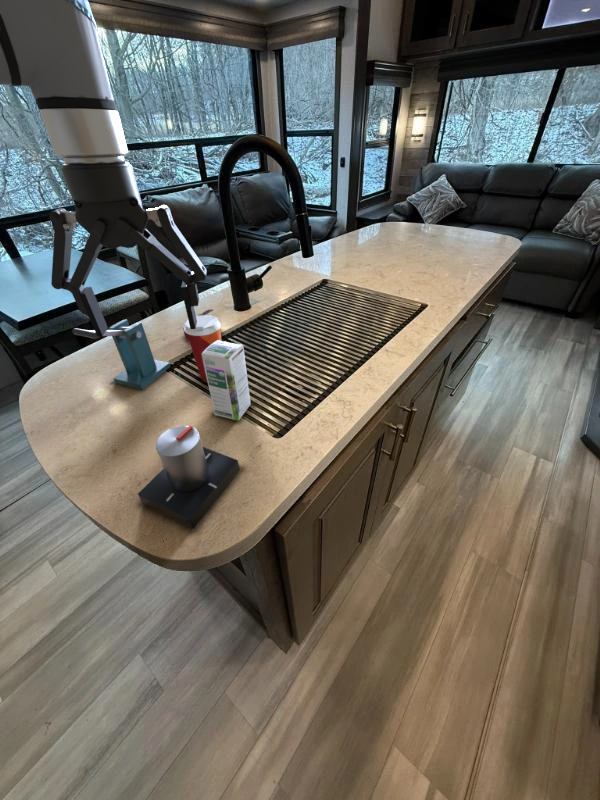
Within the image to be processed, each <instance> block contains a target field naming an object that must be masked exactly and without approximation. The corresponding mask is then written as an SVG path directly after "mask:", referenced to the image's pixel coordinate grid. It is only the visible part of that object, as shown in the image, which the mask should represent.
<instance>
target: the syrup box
mask: <svg viewBox="0 0 600 800" xmlns="http://www.w3.org/2000/svg"><path fill="white" fill-rule="evenodd" d="M245 356H246V355H245V349H244V345H243V344H241V343H240V344H239V343H233V342H228V341H223V340H221V341H219V340H217V341H216V342H214V343H213V344H211V345H210V346H209V347H207V348H206V349H205V350H204V351H203V353H202V359H203V364H204V368H205V373H206V377H207V381H208V383H207V385H208V390H209V395H210V399H211V404H212V409H213V414H214V416H216V417H217V416H218V417H222V418H226V419H228V420H229V419H230V420H234V421H237V422H239V421H240V419H242V417H243V415H245V413H246V412H247V410H248V409H249V407H250V406H251V396H250V388H249V380H248V372H247V364H246V358H245Z"/></svg>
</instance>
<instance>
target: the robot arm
mask: <svg viewBox="0 0 600 800" xmlns="http://www.w3.org/2000/svg"><path fill="white" fill-rule="evenodd" d="M91 8H92V7H91V5H90V2H89V0H0V86H10V87H13V88H14V87H15V88H20V87H21V88H22V87H25V88H29V89H30V92H31V93H32V96H33V97H34V100H35V103H36V107H37V108H38V110H39V112H40V116H41V120H42V121H43V124H44V127H45V130H46V132H47V136H48V138H49V141H50V143H51V147H52V150H53V152H54V155H55V156H57V157H58V158H59V159H60V158H62V159H63V162H64V163H61V167H60V170H61V173H62V175H63V178H64V181H65V183H66V186H67V189H68V191H69V194H70V197H71V199H72V201H73V203H74V207H75V211H69V210H66V209H65V208H63V207H59V208H56V209H55V210H52V211H49V220H50V223H51V226H52V229H53V232H54V233H53V249H52V265H51V266H52V267H51V280H50V284H51V286H52V288H53V289H55V290H66V291H68V292H69V293H71V295H72V297H73V299H74V301H75V303H76V306H77V308H78V310H79V312H80V313H81V315H87V316H88V318H89V321H90V323H91V325H92V327H93V330H95V332H96V335H97V337H98V336H100V337H104V336H103V335H104V333H105V332H106V330H109V327H108V325H107V322H106V320H105V316H104V315H103V312H102V309H101V307H100V305H99V302H98V300H97V297H96V294H95V293H94V290H93V287H92V286H86V287H84V286H85V285H86V282H87V280H88V277H89V275H90V273H91V271H92V269H93V267H94V265H95V262H96V260H97V258H98V256H99V254H100V252H101V249H102V248H103V247H105V248H107V249H108V250H115V249H117V248H125V249H133V248H134V247H136V246H139V247H140V248H141V249H143V250H144V251H147V252H148V253H149V254H150V255H152V256H153V257H154V258H155V260H157V261H159V263H161V264H162V265H163V266H164V267H166V268H167V269H168V270H169V271H170V272H171V273H172V274H174V275H175V277H177V278H178V279H179V280H180V281H182V283H181V286H180V289H181V294H182V298H183V302H184V303H183V304H184V308H185V310H186V316H187V320H189V325H190V329H196V324H197V319H196V316H197V315H196V314H197V313H196V311H195V307H198V306H199V303H200V295H199V291H198V286H197V283H198V282H200V281H201V282H202V281H205V280H206V278H207V274H208V271H207V268H206V267H205V265H204V264H203V263H202V261H201V260H200V259H199V257H198V255H197V254H196V252H195V251H194V250H193V248H192V247H191V245H190V244H189V243H188V241H187V240H186V238H185V236H184V235H183V234H182V232H181V231H180V230H179V228H178V227H177V225H176V223H175V222H174V218H173V216H172V213H171V212H172V211H171V209H170V207H169V206H168V205H167V204H162V205H160V206H159V207H155V208H148V209H147V208H146V207H145V206H144V203H143V201H142V198H141V195H140V191H139V186H138V183H137V180H136V175H135V172H134V171H135V170H134V168H133V165H132V164H130V162H129V161H126V159H125V157H127V156H128V154H129V149H128V146H127V141H126V138H125V135H124V134H125V133H124V130H123V127H122V123H121V118H120V115H119V112H118V110H117V106H116V102H115V98H114V95H113V91H112V87H111V83H110V79H109V75H108V71H107V67H106V62H105V59H104V55H103V50H102V46H101V43H100V39H99V34H98V32H97V29H98V26H97V22H96V20H95V18H94V15H93V12H92V9H91ZM150 220H151V221H153V222H154V224H155V225H156V226H157V227H159V228H162V230H163V232H164V234H165V236H166V237H167V238H168V240H169V241H170V242H171V244H172V245H173V247H174V248H175V250H177V252H178V254H179V255H180V256H181V257H182V259H183V260H184V262H185V264H187V266H188V267H189V268H188V267H187V266H186V265H185V264H184V263H183V262H182V261H181V260H180V259H178V258H177V257H176V256H175V255H174V254H173V253H171V252H170V251H169V250H168V249H167V248H166V247H165V246H163V244H162V243H160V242H159V240H157V238H156V237H155V235H153V234H152V233H151V231H149V230H148V229H147V227H148V224H149V222H150ZM77 224H78V225H79V226H80V227H81V228H82V229H84V231H86V232H87V233H88V234H89V235H88V238H87V240H86V241H85V245H84V249H83V252H82V254H81V256H80V258H79V260H78V263H77V265H76V267H75V269H74V272H73V274H72V276H71V277H70V268H71V259H72V247H73V246H72V245H73V235H74V231H73V230H75V229H76V228H77Z"/></svg>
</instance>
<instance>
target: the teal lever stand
mask: <svg viewBox="0 0 600 800" xmlns="http://www.w3.org/2000/svg"><path fill="white" fill-rule="evenodd" d="M119 327H129V328H127V329H126V330H124V334H125V336H126V339H123V338H119V336H111V337H112V339H113V343H114V344H115V347H116V349H117V353H118V355H119V357H120V359H121V362H122V364H123V366H124V369H125V370H123V371H121V372H120V373H119V374H117V375H116V376H114V377H113V378H112V379H113V382H114V383H115V384H119V385H123V386H128V387H131V388H135V389H139V390H144V389H145V388H146V387H147V386H148V385H150V384H151V383H153V382H154V381H155V380H156V379H158V378H159V377H160V376H161V375H163V374H164V373H165V372H166V371H167V370H169V369H170V368H171V363H170V362H167V361H162V360H159V359H155V358H154V355H153V352H152V350H151V346H150V343H149V341H148V337H147V335H146V331H145V328H144V325H143V322H139V321H137V322H136V323H134V324H132V325H131V326H130V324H129V321H128V319H122V320H121V321H119V322H116V323H115V324H112V325H111V326H109V327H108V330H119Z"/></svg>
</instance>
